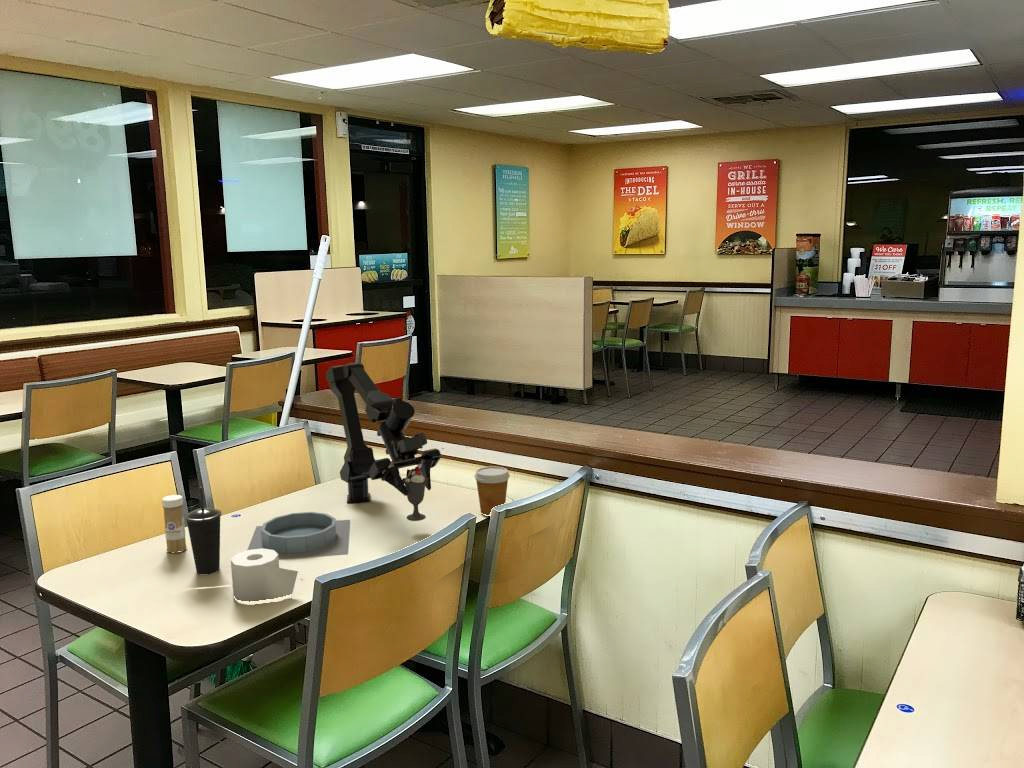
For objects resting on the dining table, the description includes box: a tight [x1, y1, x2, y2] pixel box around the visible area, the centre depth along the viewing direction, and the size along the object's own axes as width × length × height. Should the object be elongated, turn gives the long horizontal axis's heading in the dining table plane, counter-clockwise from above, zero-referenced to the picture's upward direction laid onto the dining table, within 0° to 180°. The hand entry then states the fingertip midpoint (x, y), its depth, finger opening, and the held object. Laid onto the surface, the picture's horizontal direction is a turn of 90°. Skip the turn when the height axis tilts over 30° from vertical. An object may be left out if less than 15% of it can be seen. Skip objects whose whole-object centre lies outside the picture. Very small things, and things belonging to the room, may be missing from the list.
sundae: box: [401, 462, 429, 522], centre depth 201 cm, size 7×7×15 cm
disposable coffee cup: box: [473, 465, 511, 515], centre depth 215 cm, size 10×10×12 cm
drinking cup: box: [184, 486, 222, 575], centre depth 179 cm, size 8×8×20 cm
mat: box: [246, 519, 351, 561], centre depth 198 cm, size 24×24×1 cm
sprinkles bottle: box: [161, 494, 188, 553], centre depth 192 cm, size 5×5×14 cm
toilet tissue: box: [230, 548, 299, 602], centre depth 168 cm, size 9×13×9 cm
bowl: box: [261, 511, 337, 554], centre depth 198 cm, size 18×18×4 cm
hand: (418, 492), depth 200 cm, fingers closed on sundae, 6 cm apart
